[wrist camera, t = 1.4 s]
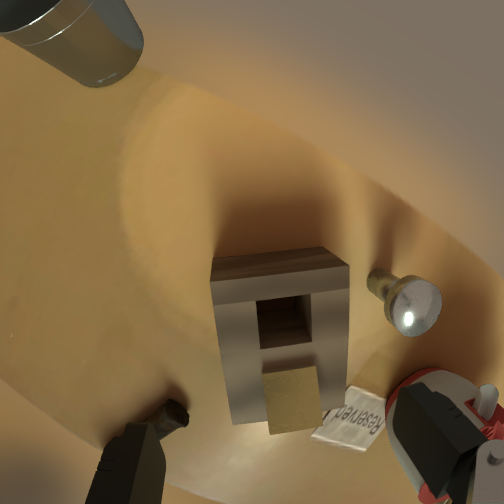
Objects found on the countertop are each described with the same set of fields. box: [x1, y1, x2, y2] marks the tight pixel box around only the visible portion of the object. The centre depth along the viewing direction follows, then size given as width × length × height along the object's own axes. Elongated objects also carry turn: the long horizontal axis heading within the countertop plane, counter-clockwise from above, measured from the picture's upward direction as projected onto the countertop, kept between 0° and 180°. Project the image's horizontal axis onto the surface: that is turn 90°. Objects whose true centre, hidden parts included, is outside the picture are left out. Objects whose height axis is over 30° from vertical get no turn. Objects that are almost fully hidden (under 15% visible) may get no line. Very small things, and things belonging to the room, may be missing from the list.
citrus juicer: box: [385, 367, 504, 504], centre depth 32 cm, size 16×17×20 cm
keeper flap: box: [262, 365, 323, 435], centre depth 28 cm, size 6×5×1 cm
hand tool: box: [144, 399, 189, 440], centre depth 37 cm, size 19×4×5 cm, turn 130°
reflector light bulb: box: [367, 268, 442, 337], centre depth 32 cm, size 6×6×10 cm
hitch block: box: [210, 247, 349, 425], centre depth 33 cm, size 16×12×8 cm
